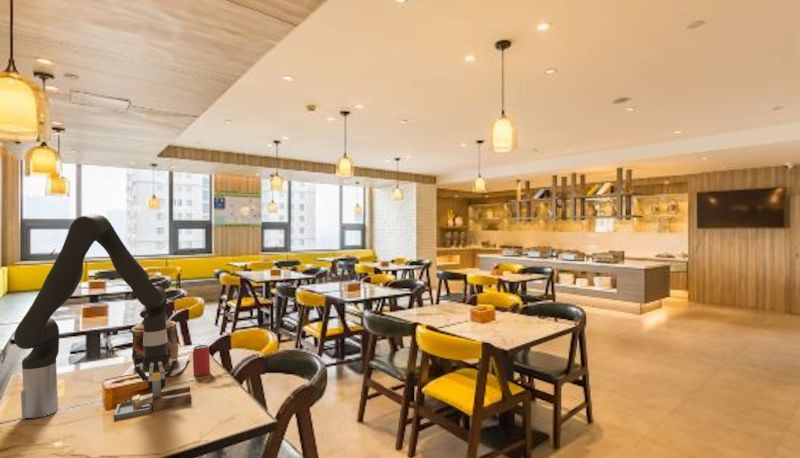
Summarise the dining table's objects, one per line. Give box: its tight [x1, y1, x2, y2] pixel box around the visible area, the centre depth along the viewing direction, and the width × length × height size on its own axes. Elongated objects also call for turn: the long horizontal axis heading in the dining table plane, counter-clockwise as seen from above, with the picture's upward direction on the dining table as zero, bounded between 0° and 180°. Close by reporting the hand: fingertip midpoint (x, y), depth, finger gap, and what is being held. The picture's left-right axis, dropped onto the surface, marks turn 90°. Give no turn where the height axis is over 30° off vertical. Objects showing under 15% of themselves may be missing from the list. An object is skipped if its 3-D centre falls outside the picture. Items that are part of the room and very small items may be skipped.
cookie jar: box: [122, 306, 191, 377], centre depth 193 cm, size 25×25×32 cm
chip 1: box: [131, 394, 141, 411], centre depth 151 cm, size 4×4×2 cm
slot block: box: [152, 385, 192, 412], centre depth 157 cm, size 12×9×4 cm
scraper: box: [152, 370, 163, 400], centre depth 154 cm, size 3×4×10 cm, turn 27°
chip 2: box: [139, 392, 153, 406], centre depth 153 cm, size 4×4×2 cm
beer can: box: [192, 344, 211, 377], centre depth 186 cm, size 7×7×12 cm
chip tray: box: [113, 400, 153, 421], centre depth 151 cm, size 11×12×2 cm
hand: (157, 389), depth 154 cm, fingers closed on scraper, 2 cm apart
